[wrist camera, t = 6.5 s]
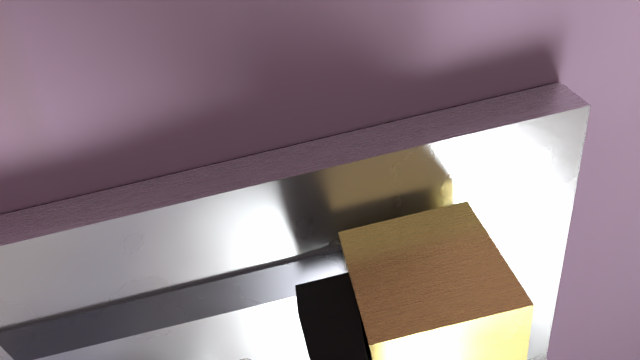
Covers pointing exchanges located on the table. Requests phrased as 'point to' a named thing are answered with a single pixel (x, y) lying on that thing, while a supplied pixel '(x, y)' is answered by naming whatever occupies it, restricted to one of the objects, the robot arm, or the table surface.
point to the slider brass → (436, 289)
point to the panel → (282, 233)
